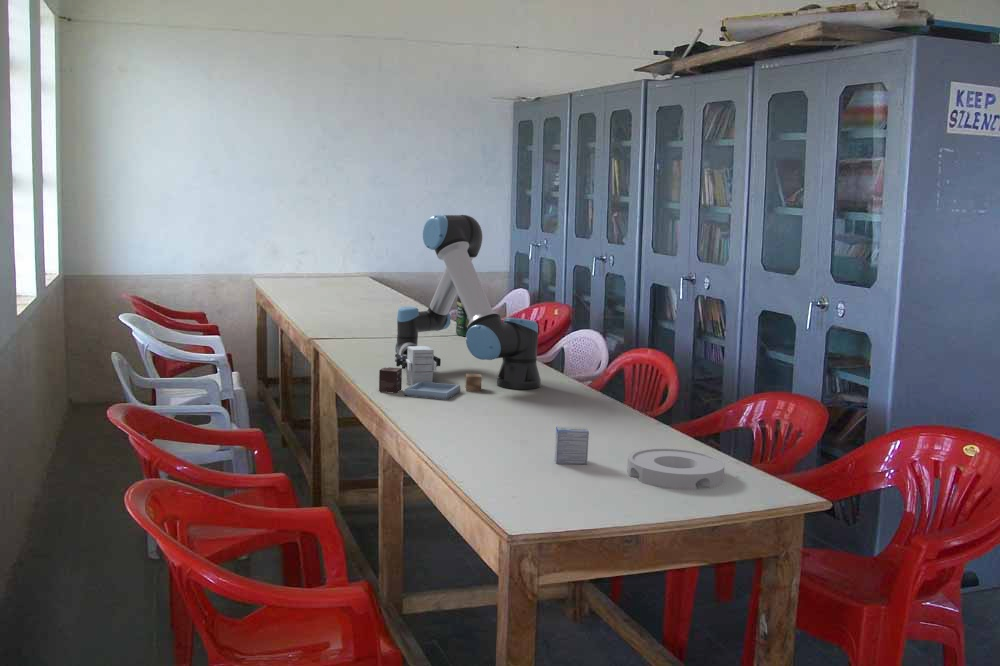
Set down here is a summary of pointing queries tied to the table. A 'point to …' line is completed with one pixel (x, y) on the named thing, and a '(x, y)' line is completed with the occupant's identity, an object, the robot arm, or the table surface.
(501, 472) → the table surface
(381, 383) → the box
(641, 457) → the ashtray
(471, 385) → the walnut block
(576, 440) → the medicine box
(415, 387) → the tray
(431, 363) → the supplement box
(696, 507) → the table surface
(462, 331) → the coffee jar
